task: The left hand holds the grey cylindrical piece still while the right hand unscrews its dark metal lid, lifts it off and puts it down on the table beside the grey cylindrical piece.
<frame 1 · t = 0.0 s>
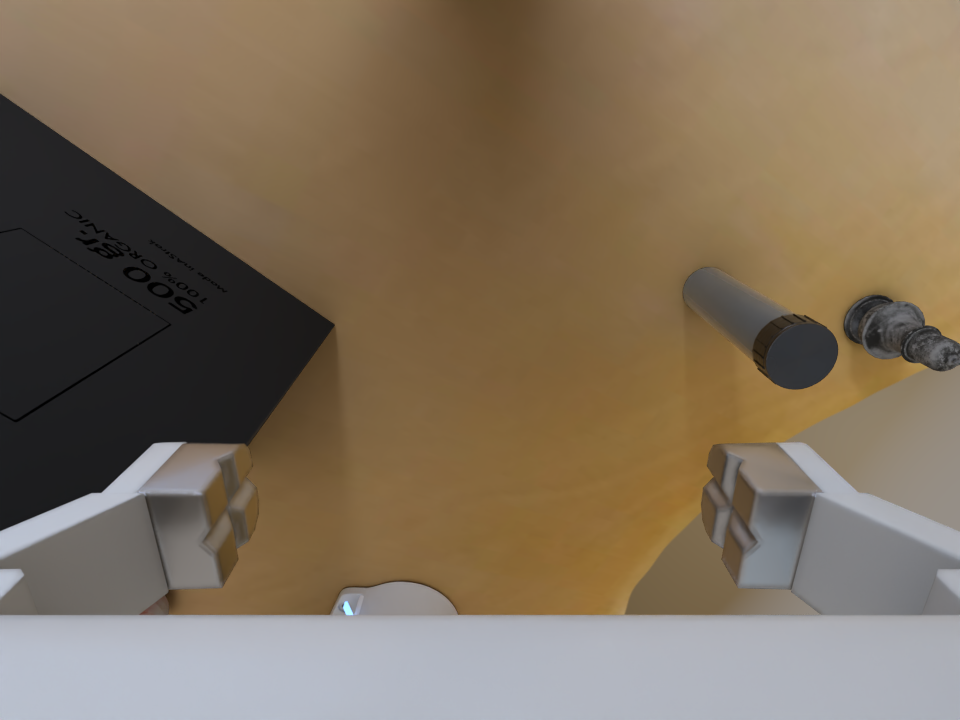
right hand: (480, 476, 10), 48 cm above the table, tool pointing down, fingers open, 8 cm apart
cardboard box: (123, 290, 58), on the table
eyeball: (155, 594, 73), on the table
lid: (799, 355, 41), point 18 cm above the table, screwed on, not yet turned
grey cylindrical piece: (706, 289, 58), on the table
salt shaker: (869, 319, 59), on the table
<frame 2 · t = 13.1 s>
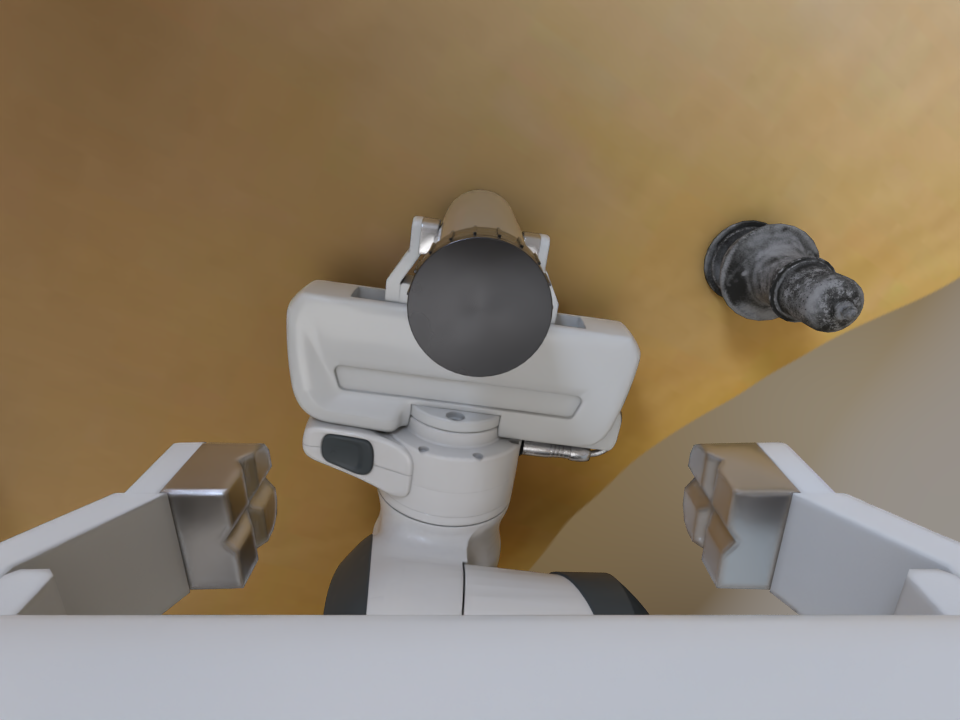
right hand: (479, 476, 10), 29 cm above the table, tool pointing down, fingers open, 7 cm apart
left hand: (481, 226, 32), fingers closed on grey cylindrical piece, 5 cm apart
lid: (479, 307, 20), point 18 cm above the table, screwed on, not yet turned
grey cylindrical piece: (479, 227, 37), on the table, touching left hand
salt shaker: (743, 260, 38), on the table
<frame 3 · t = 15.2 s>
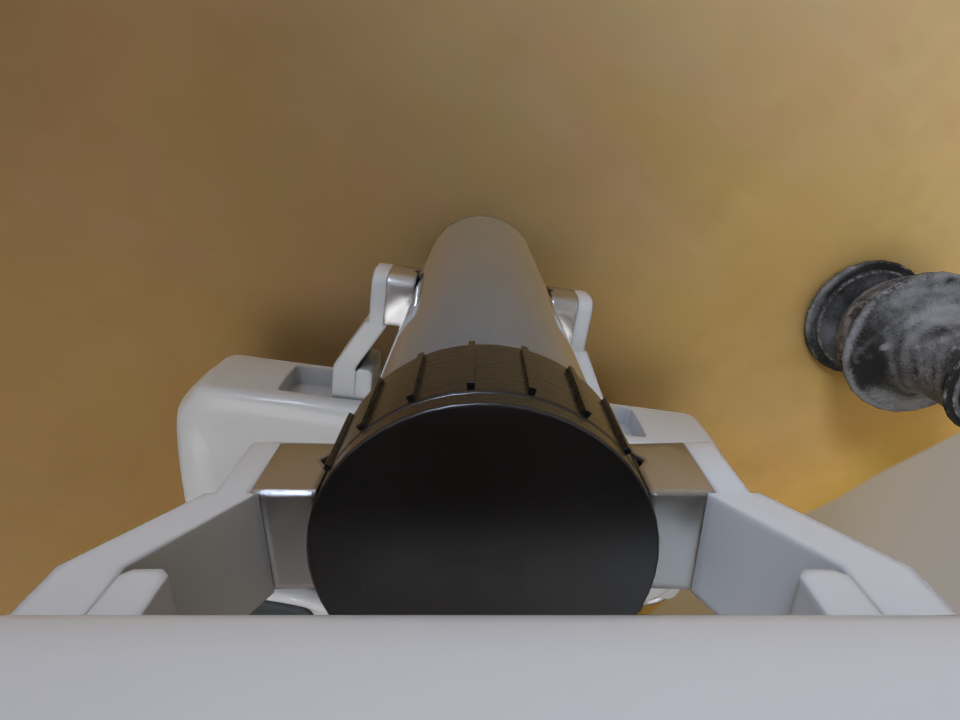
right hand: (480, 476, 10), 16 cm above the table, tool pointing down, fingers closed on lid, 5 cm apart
lid: (482, 545, 9), point 18 cm above the table, screwed on, not yet turned, touching right hand
grey cylindrical piece: (480, 269, 26), on the table, touching left hand
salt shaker: (861, 316, 26), on the table
when the right hand's fingers open (17 cm above the table, at t = 16.4 s): lid stays where it is, point 19 cm above the table.
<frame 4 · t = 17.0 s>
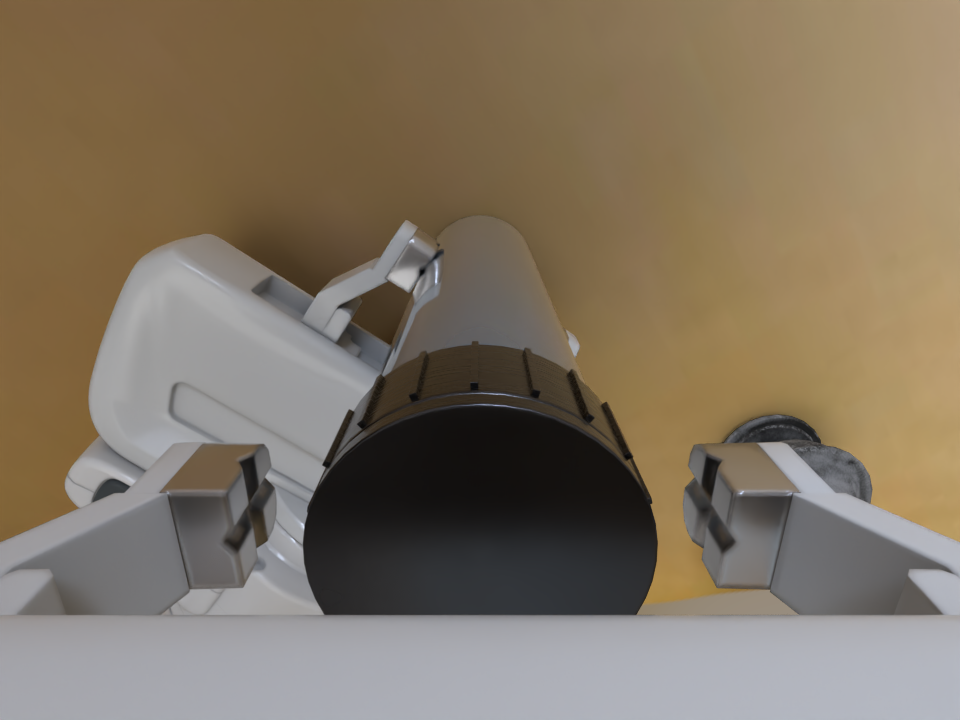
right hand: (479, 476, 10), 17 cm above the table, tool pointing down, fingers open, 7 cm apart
lid: (480, 547, 9), point 19 cm above the table, turned 63° so far, risen 0.2 cm, still on its thread
grey cylindrical piece: (480, 268, 26), on the table, touching left hand
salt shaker: (766, 459, 29), on the table
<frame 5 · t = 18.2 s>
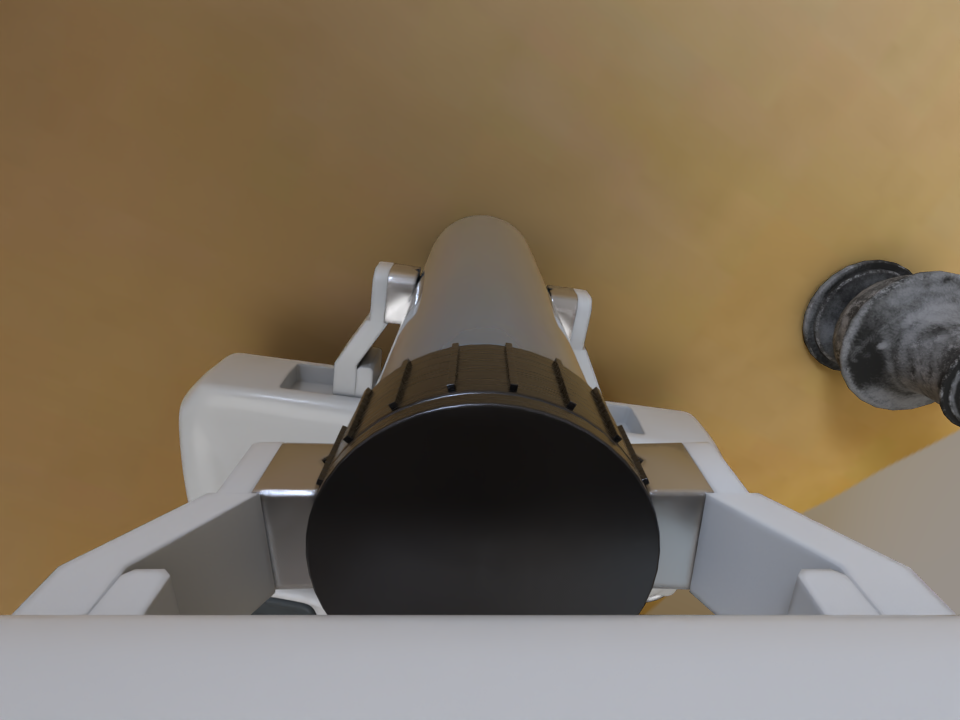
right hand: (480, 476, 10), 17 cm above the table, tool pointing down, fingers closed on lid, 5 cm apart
lid: (482, 547, 9), point 19 cm above the table, turned 63° so far, risen 0.2 cm, still on its thread, touching right hand
grey cylindrical piece: (480, 268, 26), on the table, touching left hand
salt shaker: (859, 316, 27), on the table
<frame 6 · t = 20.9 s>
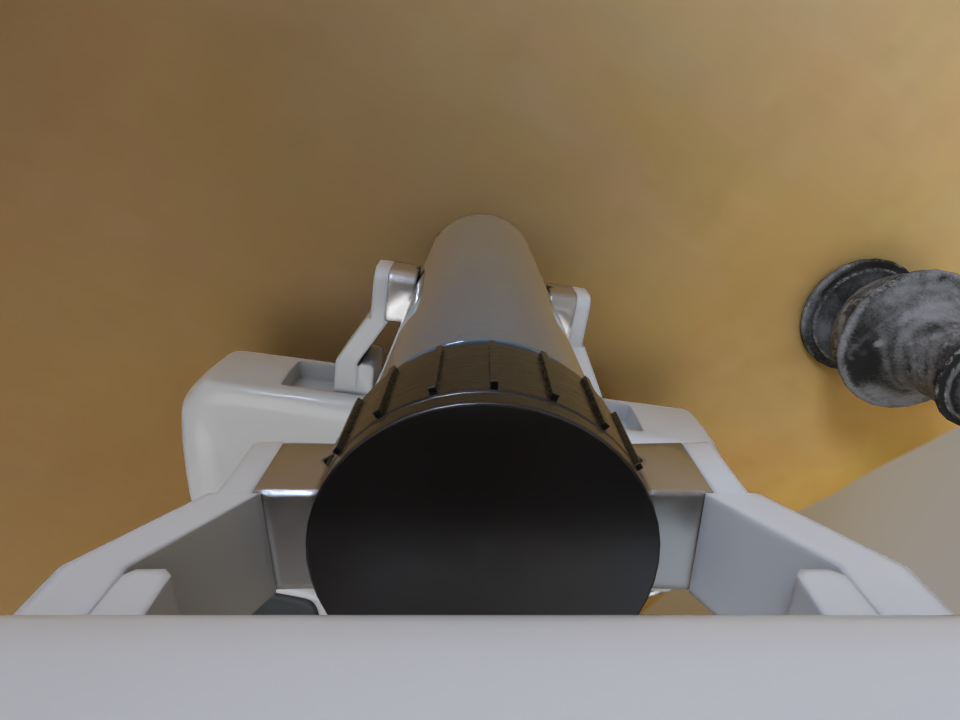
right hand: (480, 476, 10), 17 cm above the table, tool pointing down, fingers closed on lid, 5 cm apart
lid: (482, 546, 9), point 19 cm above the table, turned 126° so far, risen 0.4 cm, still on its thread, touching right hand
grey cylindrical piece: (480, 267, 26), on the table, touching left hand
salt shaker: (856, 314, 27), on the table
when the right hand's fingers open (2 cm above the table, at t = 28.0 s): lid drops 2 cm, point 2 cm above the table.
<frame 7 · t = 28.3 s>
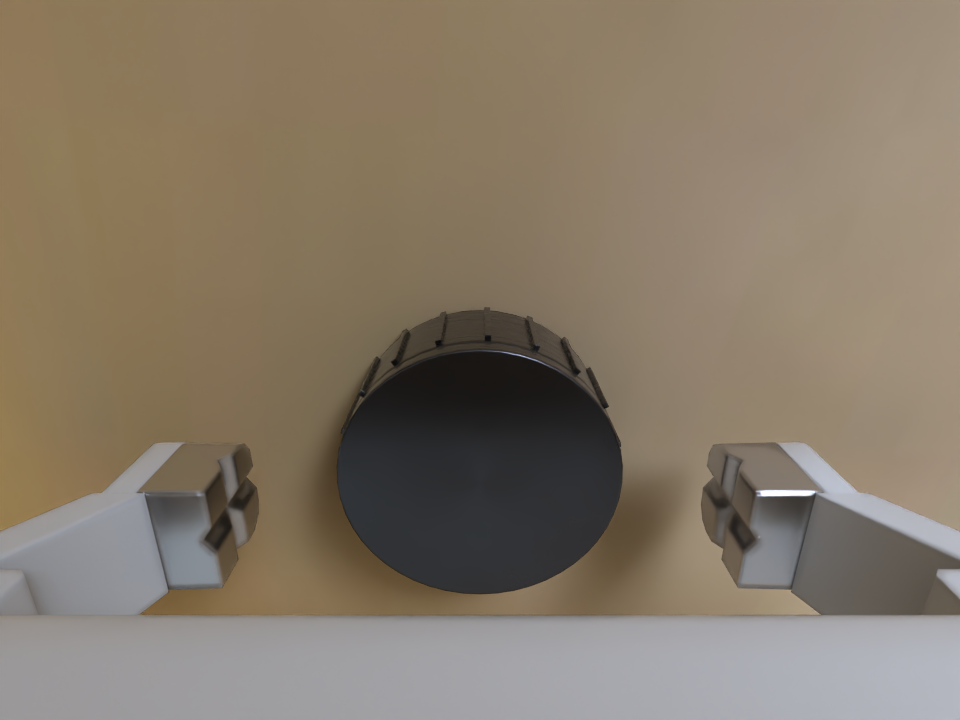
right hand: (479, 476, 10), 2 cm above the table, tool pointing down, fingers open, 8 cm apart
lid: (479, 472, 10), point 2 cm above the table, off its thread
when the left hand's fingers open (6 cm above the table, at t = 29.0 s): grey cylindrical piece stays where it is, on the table.
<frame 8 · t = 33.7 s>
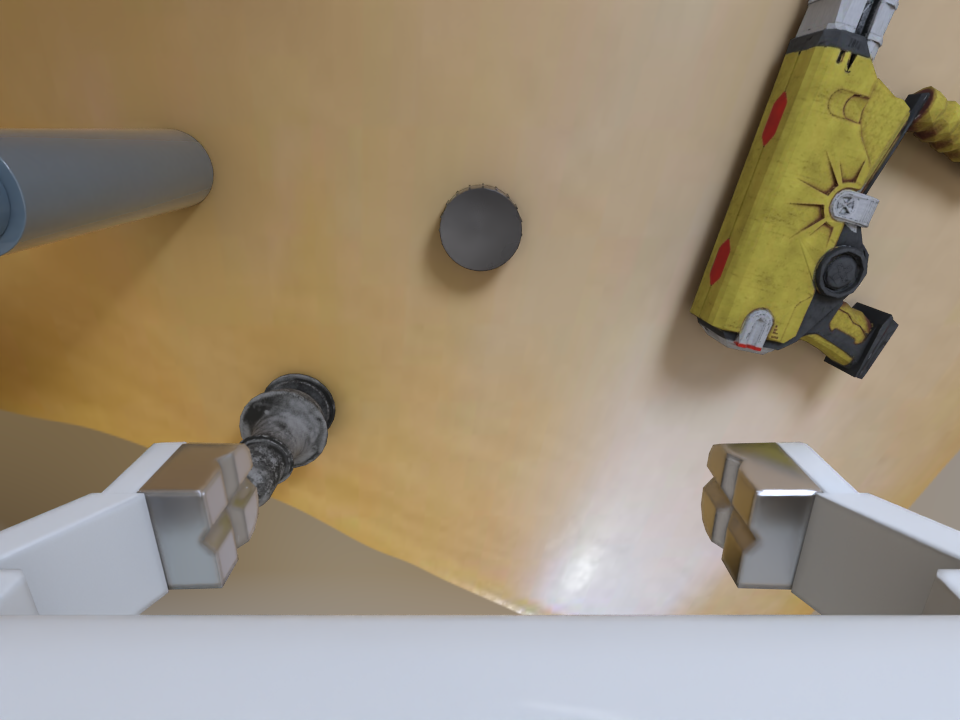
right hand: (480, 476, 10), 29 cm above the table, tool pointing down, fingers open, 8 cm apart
toy gun: (854, 169, 36), on the table
lid: (480, 229, 36), point 2 cm above the table, off its thread
grey cylindrical piece: (175, 169, 36), on the table
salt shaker: (299, 405, 42), on the table
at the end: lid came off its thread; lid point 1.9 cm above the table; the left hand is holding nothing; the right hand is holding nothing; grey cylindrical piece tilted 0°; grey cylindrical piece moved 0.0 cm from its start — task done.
